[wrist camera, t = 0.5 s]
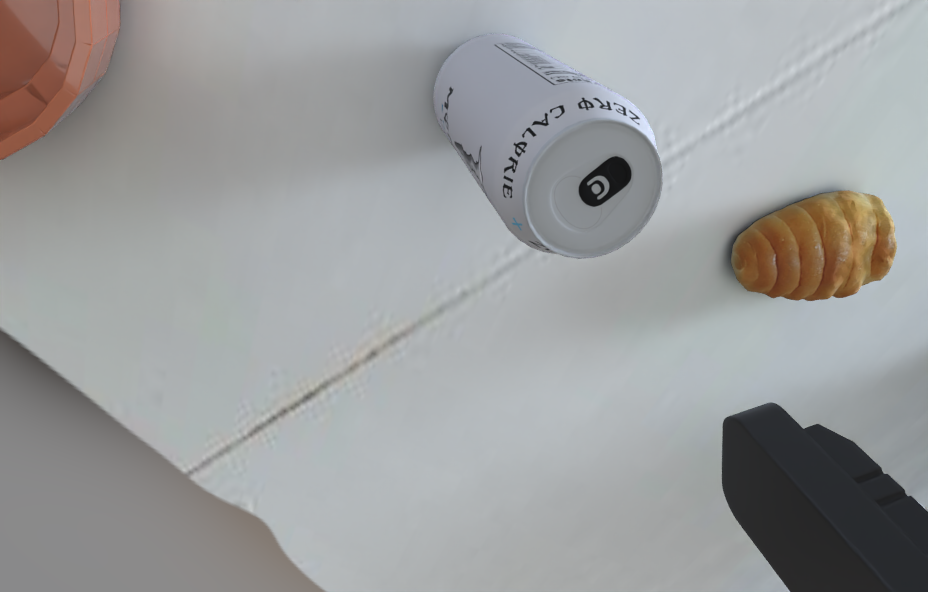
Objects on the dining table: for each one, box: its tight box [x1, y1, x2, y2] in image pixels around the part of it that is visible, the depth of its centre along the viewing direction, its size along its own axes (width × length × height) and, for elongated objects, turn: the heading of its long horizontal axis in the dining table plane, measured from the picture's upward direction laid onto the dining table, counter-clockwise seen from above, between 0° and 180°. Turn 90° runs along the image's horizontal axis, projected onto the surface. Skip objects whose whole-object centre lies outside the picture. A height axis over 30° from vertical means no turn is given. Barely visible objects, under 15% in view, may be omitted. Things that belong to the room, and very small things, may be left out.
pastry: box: [731, 191, 897, 301], centre depth 43 cm, size 9×7×4 cm
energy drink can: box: [434, 34, 663, 259], centre depth 30 cm, size 6×6×15 cm
